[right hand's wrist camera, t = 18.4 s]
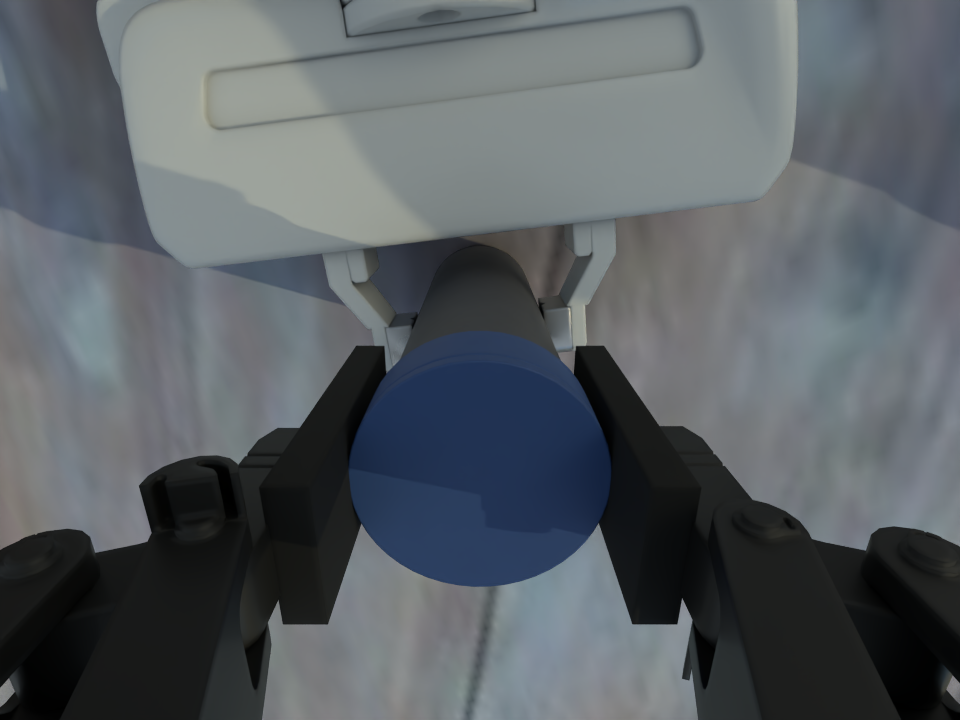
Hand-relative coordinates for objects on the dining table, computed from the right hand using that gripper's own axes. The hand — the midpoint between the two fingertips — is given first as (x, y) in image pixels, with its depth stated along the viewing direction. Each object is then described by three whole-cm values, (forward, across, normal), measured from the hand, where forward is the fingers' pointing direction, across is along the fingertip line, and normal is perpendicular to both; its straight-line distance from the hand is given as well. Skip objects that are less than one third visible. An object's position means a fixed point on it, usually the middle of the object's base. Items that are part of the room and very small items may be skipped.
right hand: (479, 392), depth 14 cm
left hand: (+5, 0, -1) cm, 5 cm away
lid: (-4, 0, 0) cm, 4 cm away
